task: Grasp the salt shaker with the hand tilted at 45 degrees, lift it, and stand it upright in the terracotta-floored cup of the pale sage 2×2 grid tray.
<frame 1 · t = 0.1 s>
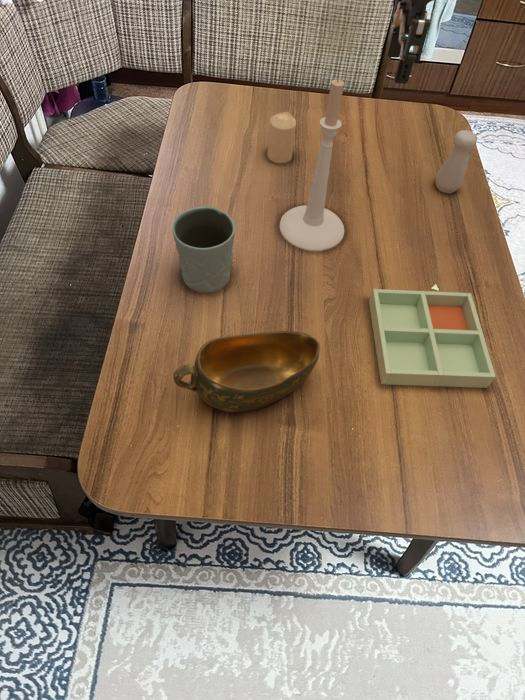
hand: (396, 69, 90), 27 cm above the table, tool pointing down, fingers open, 8 cm apart
grid: (424, 343, 91), on the table
candle: (279, 157, 118), on the table
salt shaker: (445, 189, 116), on the table
grey green cup: (205, 277, 96), on the table
creamer: (247, 388, 84), on the table
candlestick: (311, 230, 105), on the table
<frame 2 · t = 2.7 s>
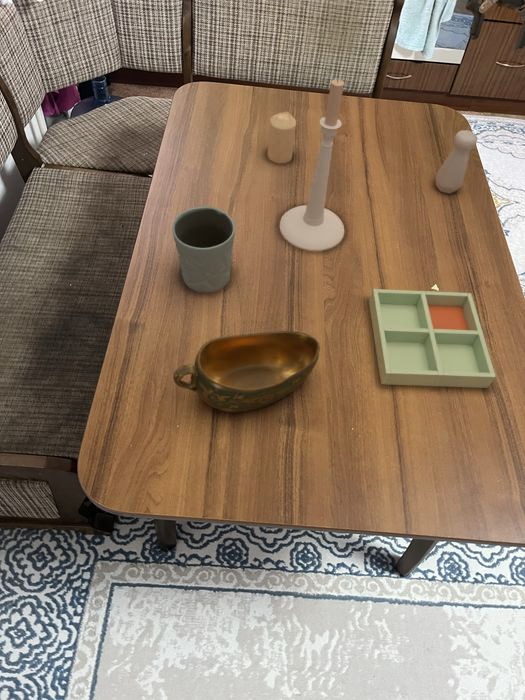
hand: (496, 44, 98), 27 cm above the table, tool tilted 35°, fingers open, 8 cm apart
nothing on the table moved.
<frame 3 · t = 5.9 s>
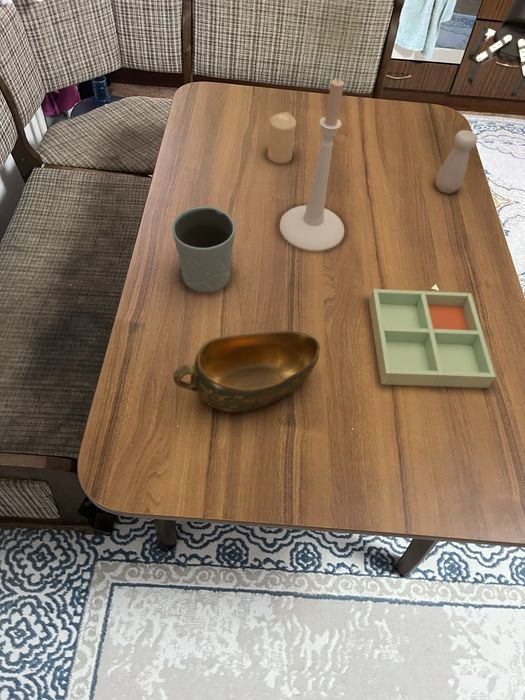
hand: (491, 90, 106), 18 cm above the table, tool tilted 45°, fingers open, 8 cm apart
nothing on the table moved.
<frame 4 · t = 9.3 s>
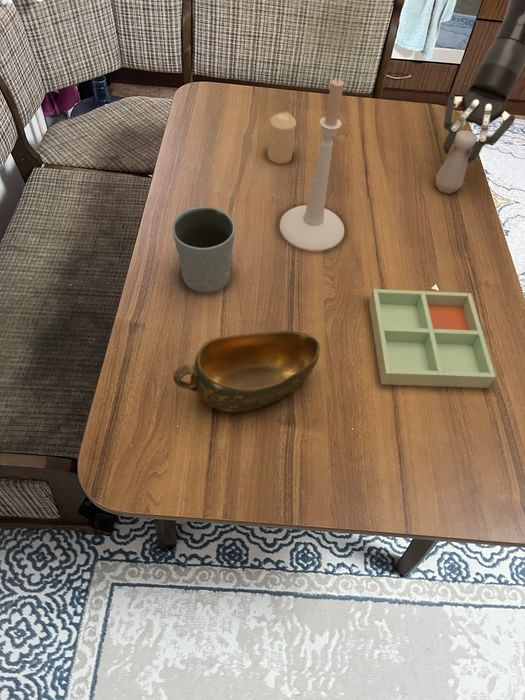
hand: (457, 156, 107), 9 cm above the table, tool tilted 45°, fingers closed on salt shaker, 4 cm apart
salt shaker: (445, 189, 116), on the table, touching gripper
everything else where it was.
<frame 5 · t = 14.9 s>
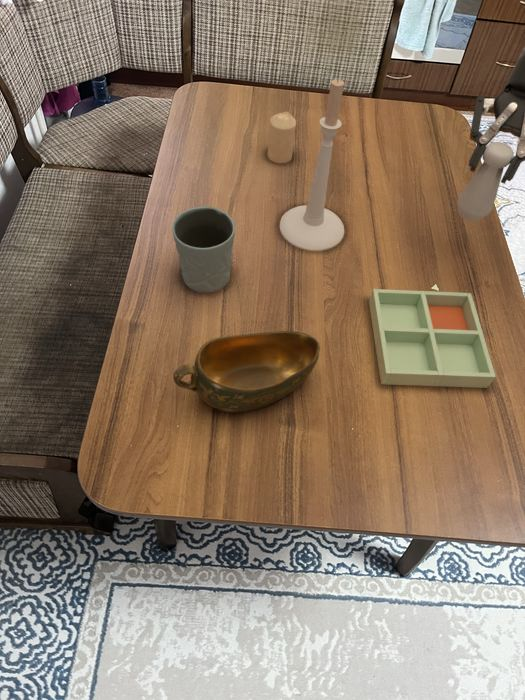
hand: (487, 175, 83), 22 cm above the table, tool tilted 45°, fingers closed on salt shaker, 4 cm apart
salt shaker: (469, 215, 91), point 12 cm above the table, touching gripper
everything else where it was.
when the fingers open (10 cm above the table, at t = 20.4 s): salt shaker stays where it is, resting on grid.
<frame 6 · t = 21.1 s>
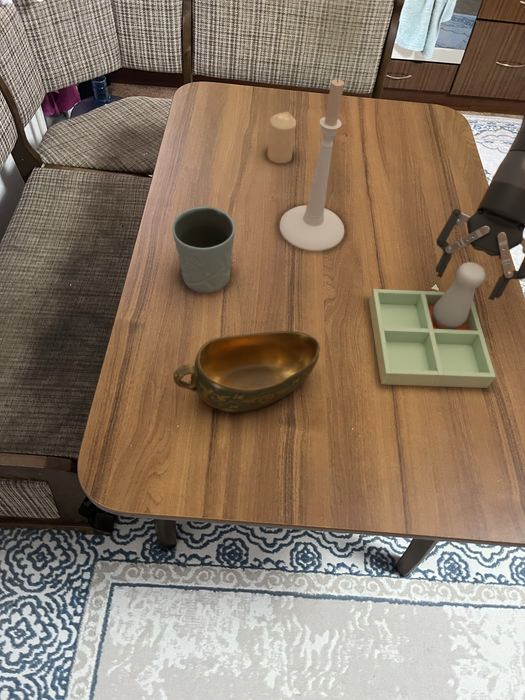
hand: (464, 288, 84), 11 cm above the table, tool tilted 45°, fingers open, 8 cm apart
salt shaker: (444, 322, 93), point 1 cm above the table, touching grid
everything else where it was.
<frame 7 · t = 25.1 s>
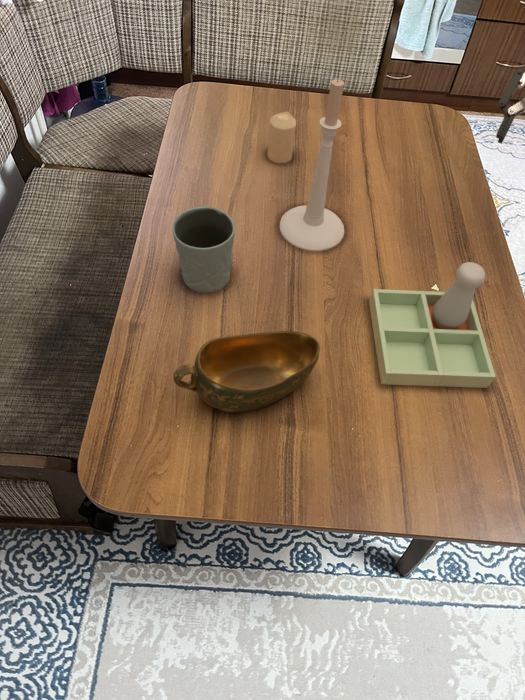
nothing on the table moved.
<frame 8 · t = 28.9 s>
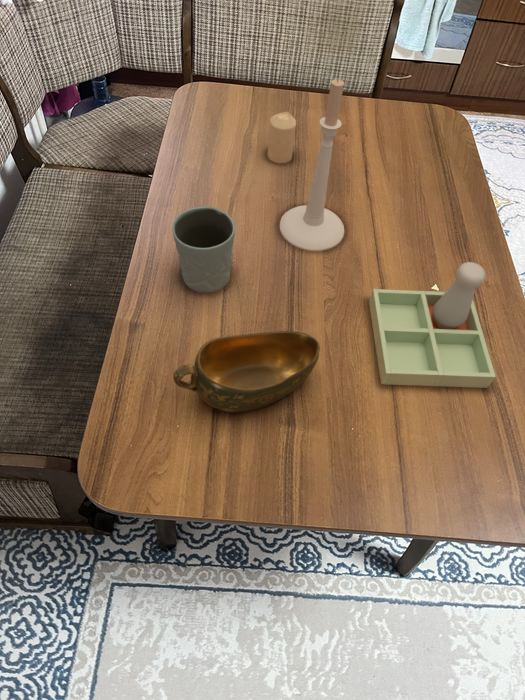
nothing on the table moved.
at the end: salt shaker 0.2 cm from the target spot in the grid, point 0.6 cm above the grid's base; salt shaker tilted 0°; the gripper is holding nothing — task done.
